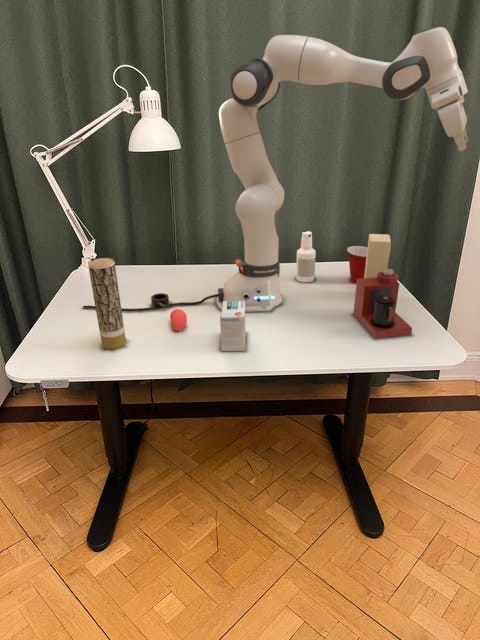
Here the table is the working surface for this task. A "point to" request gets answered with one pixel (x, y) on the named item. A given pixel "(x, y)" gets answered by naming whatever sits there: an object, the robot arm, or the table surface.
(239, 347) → the light bulb box
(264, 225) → the robot arm
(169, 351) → the table surface
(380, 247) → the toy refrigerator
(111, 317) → the paper tube
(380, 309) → the kettle
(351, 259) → the plastic cup
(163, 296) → the duct tape
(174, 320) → the red bean-shaped piece
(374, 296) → the warming base
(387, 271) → the power button
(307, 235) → the spray bottle
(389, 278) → the coffee maker
